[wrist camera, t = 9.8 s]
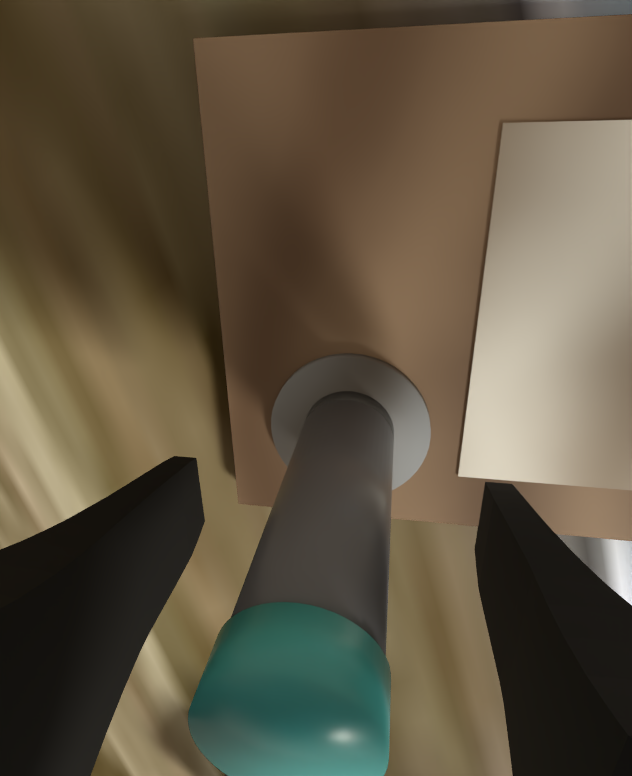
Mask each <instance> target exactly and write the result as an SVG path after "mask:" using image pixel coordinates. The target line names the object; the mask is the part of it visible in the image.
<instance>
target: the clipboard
mask: <svg viewBox="0 0 632 776" xmlns="http://www.w3.org/2000/svg"><path fill="white" fill-rule="evenodd" d="M193 43H194V54H195V64H196V74H197V84H198V95H199V105H200V115H201V125H202V136H203V146H204V156H205V166H206V177H207V187H208V197H209V207H210V218H211V228H212V238H213V248H214V258H215V269H216V279H217V289H218V299H219V310H220V320H221V330H222V340H223V351H224V361H225V371H226V381H227V392H228V402H229V412H230V422H231V433H232V443H233V453H234V463H235V474H236V484H237V494H238V504H248V505H258V506H269V507H273V505H274V502H275V499H276V497H277V494H278V491H279V489H280V486H281V483H282V481H283V478H284V475H285V473H286V470H287V467H288V465H289V462H290V459H291V457H292V454H293V451H294V449H295V446H296V443H297V441H298V438H299V436H300V433H301V430H302V428H303V425H304V422H305V420H306V417H307V414H308V412H309V410H310V409H311V408H312V406H313V405H314V404H315V403H316V402H317V401H318V400H320V399H321V398H323V397H324V396H326V395H329V394H331V393H335V392H341V391H353V392H358V393H362V394H365V395H367V396H369V397H371V398H373V399H375V400H376V401H378V402H379V403H380V404H381V405H382V406H383V407H384V408H385V409H386V411H387V412H388V414H389V415H390V417H391V419H392V423H393V427H394V449H393V475H392V502H391V518H395V519H405V520H416V521H426V522H437V523H447V524H458V525H468V526H478V525H479V518H480V512H481V505H482V499H483V493H484V486H485V482H496V483H508V484H513V485H514V486H515V488H516V489H517V490H518V491H519V492H520V493H521V494H522V496H523V497H524V498H525V499H526V500H527V502H528V503H529V504H530V505H531V506H532V508H533V509H534V510H535V511H536V512H537V513H538V515H539V516H540V517H541V518H542V519H543V520H544V521H545V523H546V524H547V525H548V526H549V527H550V528H551V529H552V531H553V532H554V533H555V534H563V535H573V536H584V537H594V538H605V539H615V540H626V541H632V14H628V15H609V16H591V17H573V18H555V19H536V20H518V21H500V22H482V23H463V24H445V25H427V26H408V27H390V28H372V29H354V30H335V31H317V32H299V33H280V34H262V35H244V36H226V37H207V38H193Z"/></svg>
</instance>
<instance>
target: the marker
mask: <svg viewBox="0 0 632 776" xmlns="http://www.w3.org/2000/svg"><path fill="white" fill-rule="evenodd" d="M393 449H394V427H393V423H392V419H391V417H390V415H389V414H388V412H387V411H386V409H385V408H384V407H383V406H382V405H381V404H380V403H379V402H378V401H376V400H375V399H373V398H371V397H369V396H367V395H365V394H362V393H358V392H353V391H341V392H335V393H331V394H329V395H326V396H324V397H323V398H321V399H320V400H318V401H317V402H316V403H315V404H314V405H313V406H312V408H311V409H310V410H309V412H308V414H307V417H306V420H305V422H304V425H303V428H302V430H301V433H300V436H299V438H298V441H297V443H296V446H295V449H294V451H293V454H292V457H291V459H290V462H289V465H288V467H287V470H286V473H285V475H284V478H283V481H282V483H281V486H280V489H279V491H278V494H277V497H276V499H275V502H274V505H273V507H272V510H271V513H270V515H269V518H268V521H267V523H266V526H265V529H264V531H263V534H262V537H261V539H260V542H259V544H258V547H257V550H256V552H255V555H254V558H253V560H252V563H251V566H250V568H249V571H248V574H247V576H246V579H245V582H244V584H243V587H242V590H241V592H240V595H239V598H238V600H237V603H236V606H235V608H234V611H233V614H232V616H231V618H230V619H229V620H228V621H227V622H226V623H225V624H224V626H223V627H222V629H221V630H220V632H219V634H218V636H217V639H216V642H215V644H214V647H213V649H212V652H211V654H210V657H209V660H208V662H207V665H206V667H205V670H204V672H203V675H202V678H201V680H200V683H199V685H198V688H197V690H196V693H195V695H194V698H193V701H192V703H191V706H190V709H189V713H188V725H189V730H190V733H191V736H192V738H193V740H194V742H195V744H196V745H197V747H198V748H199V750H200V751H201V752H202V754H203V755H204V756H205V757H206V758H207V759H208V760H209V761H210V762H211V763H212V764H213V765H214V766H215V767H217V768H218V769H219V770H221V771H222V772H223V773H225V774H226V775H228V776H384V774H385V772H386V770H387V766H388V761H389V732H390V694H391V672H390V667H389V663H388V661H387V658H386V633H387V606H388V580H389V554H390V528H391V502H392V475H393Z"/></svg>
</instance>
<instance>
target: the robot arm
mask: <svg viewBox="0 0 632 776" xmlns="http://www.w3.org/2000/svg"><path fill="white" fill-rule="evenodd" d="M204 522H205V519H204V512H203V504H202V497H201V490H200V482H199V475H198V467H197V460H196V458H190V457H178V456H174V457H172V458H170V459H168V460H166V461H164V462H163V463H161V464H159V465H158V466H156V467H154V468H153V469H151V470H150V471H148V472H146V473H145V474H143V475H142V476H140V477H138V478H137V479H135V480H134V481H132V482H130V483H129V484H127V485H126V486H124V487H122V488H121V489H119V490H117V491H116V492H114V493H113V494H111V495H109V496H108V497H106V498H104V499H102V500H101V501H99V502H97V503H95V504H94V505H92V506H90V507H88V508H87V509H85V510H83V511H81V512H79V513H78V514H76V515H74V516H72V517H71V518H69V519H67V520H65V521H63V522H61V523H59V524H57V525H55V526H53V527H51V528H49V529H47V530H45V531H42V532H40V533H38V534H36V535H34V536H32V537H30V538H27V539H25V540H23V541H21V542H18V543H16V544H13V545H11V546H8V547H6V548H3V549H1V550H0V776H90V775H91V773H92V770H93V767H94V764H95V762H96V759H97V756H98V754H99V751H100V748H101V746H102V743H103V740H104V738H105V735H106V732H107V730H108V727H109V725H110V722H111V720H112V717H113V715H114V712H115V710H116V707H117V705H118V702H119V700H120V697H121V695H122V692H123V690H124V688H125V685H126V683H127V681H128V678H129V676H130V674H131V671H132V669H133V667H134V664H135V662H136V660H137V657H138V655H139V653H140V650H141V648H142V646H143V644H144V642H145V640H146V638H147V636H148V634H149V632H150V631H151V629H152V627H153V625H154V623H155V622H156V620H157V618H158V616H159V614H160V613H161V611H162V609H163V607H164V605H165V604H166V602H167V600H168V598H169V596H170V595H171V593H172V591H173V589H174V587H175V586H176V584H177V582H178V580H179V578H180V576H181V575H182V573H183V571H184V569H185V567H186V565H187V563H188V562H189V560H190V558H191V556H192V553H193V551H194V548H195V546H196V543H197V541H198V538H199V536H200V533H201V530H202V527H203V525H204ZM475 557H476V568H477V577H478V587H479V592H480V597H481V601H482V606H483V610H484V615H485V619H486V624H487V628H488V632H489V637H490V641H491V646H492V650H493V654H494V659H495V663H496V667H497V672H498V676H499V680H500V686H501V691H502V696H503V702H504V709H505V716H506V724H507V732H508V740H509V747H510V755H511V764H512V773H513V776H632V606H631V605H630V604H629V603H628V602H627V601H625V600H624V599H623V598H622V597H621V596H619V595H618V594H617V593H616V592H615V591H614V590H612V589H611V588H610V587H609V586H608V585H607V584H606V583H604V582H603V581H602V580H601V579H600V578H599V577H598V576H597V575H596V574H595V573H594V572H593V571H592V570H591V569H589V568H588V567H587V566H586V565H585V564H584V563H583V562H582V561H581V560H580V559H579V558H578V557H577V556H576V555H575V554H574V553H573V552H572V551H571V550H570V549H569V548H568V547H567V546H566V545H565V543H564V542H563V541H562V540H561V539H560V538H559V537H558V536H557V535H556V534H555V533H554V532H553V531H552V529H551V528H550V527H549V526H548V525H547V524H546V523H545V521H544V520H543V519H542V518H541V517H540V516H539V515H538V513H537V512H536V511H535V510H534V509H533V508H532V506H531V505H530V504H529V503H528V502H527V500H526V499H525V498H524V497H523V496H522V494H521V493H520V492H519V491H518V490H517V489H516V488H515V486H514V485H513V484H508V483H496V482H485V486H484V493H483V499H482V505H481V512H480V518H479V525H478V531H477V538H476V544H475Z"/></svg>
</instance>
